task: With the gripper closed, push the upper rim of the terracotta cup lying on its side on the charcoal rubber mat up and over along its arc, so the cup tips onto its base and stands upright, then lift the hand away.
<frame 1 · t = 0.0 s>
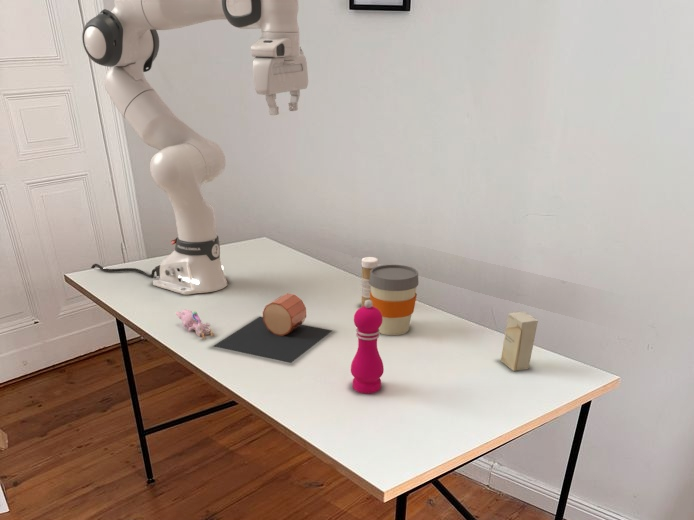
hand: (283, 112, 169), 48 cm above the table, tool pointing down, fingers open, 8 cm apart
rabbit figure: (194, 331, 178), on the table
cosmetic box: (514, 366, 162), on the table
reusable coffee cup: (391, 329, 180), on the table
pepper mill: (366, 388, 152), on the table
spice jar: (368, 307, 193), on the table
mat: (274, 339, 173), on the table
cup: (285, 330, 177), resting on mat
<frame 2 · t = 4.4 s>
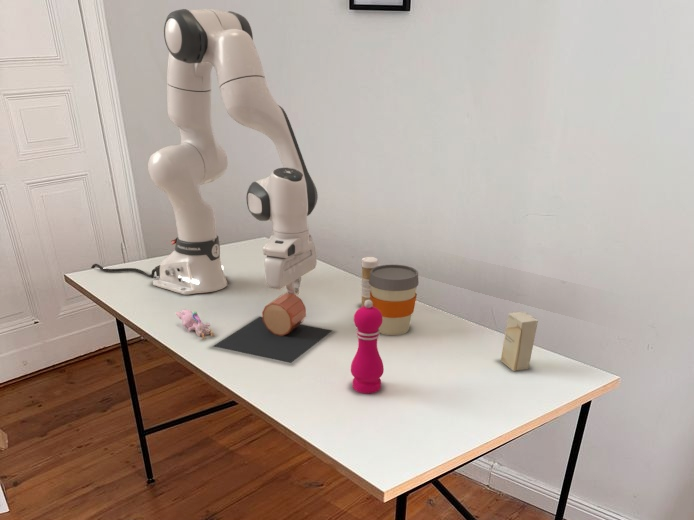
hand: (293, 295, 177), 8 cm above the table, tool pointing down, fingers closed
cup: (285, 329, 177), point 1 cm above the table, touching gripper, mat
everything else where it was.
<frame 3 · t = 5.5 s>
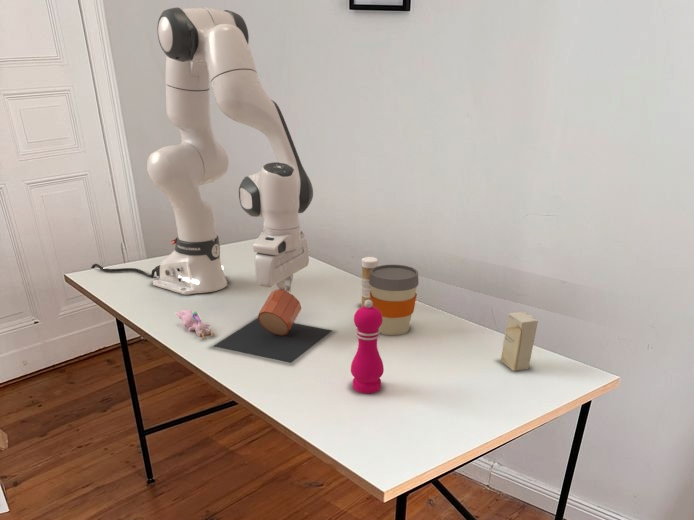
hand: (285, 293, 172), 10 cm above the table, tool pointing down, fingers closed
cup: (284, 324, 176), point 2 cm above the table, tilted 28°, touching gripper, mat
everything else where it was.
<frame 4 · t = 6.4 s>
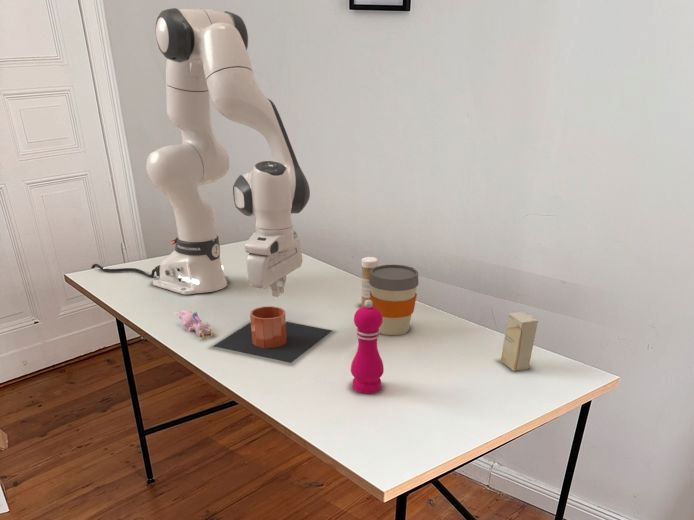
hand: (278, 295, 169), 11 cm above the table, tool pointing down, fingers closed
cup: (277, 321, 172), point 4 cm above the table, tilted 90°, touching mat
everything else where it was.
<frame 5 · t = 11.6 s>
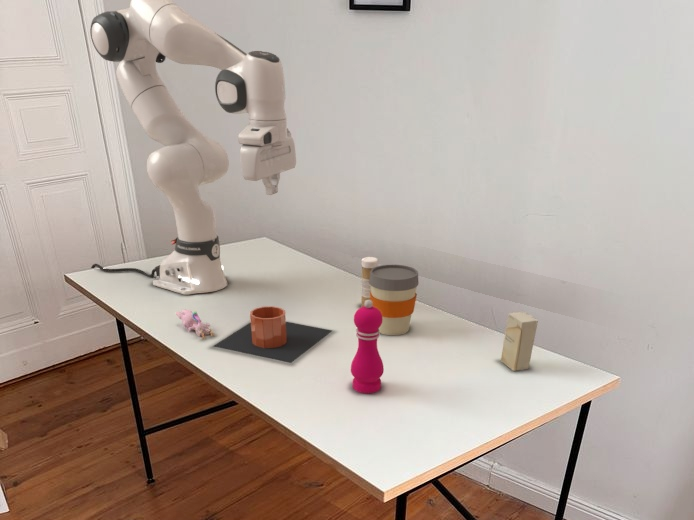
hand: (271, 193, 170), 31 cm above the table, tool pointing down, fingers closed
nothing on the table moved.
at the end: cup 0.6 cm from the target spot, point 4.1 cm above the table; cup tilted 90°; cup touching mat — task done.
